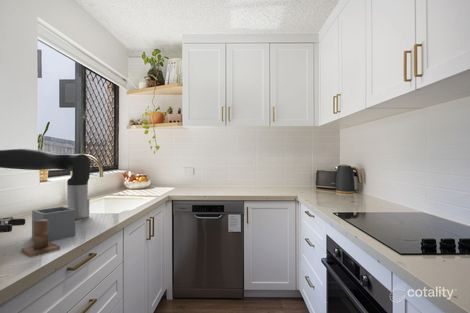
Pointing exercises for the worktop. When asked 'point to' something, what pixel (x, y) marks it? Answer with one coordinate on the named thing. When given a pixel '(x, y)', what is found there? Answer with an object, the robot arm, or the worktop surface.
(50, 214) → the tub
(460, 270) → the worktop surface
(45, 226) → the wooden peg on base
